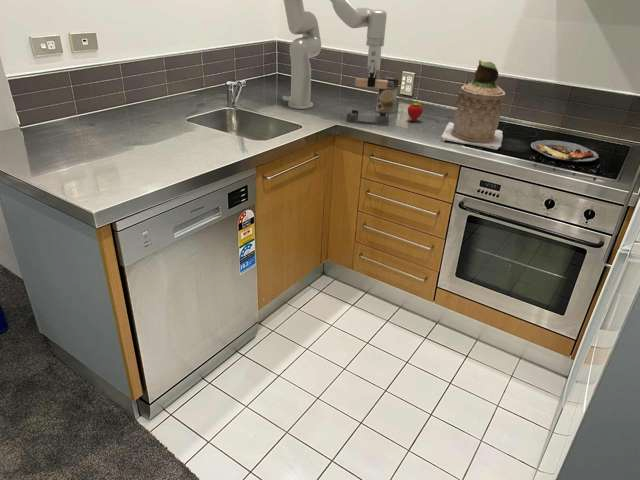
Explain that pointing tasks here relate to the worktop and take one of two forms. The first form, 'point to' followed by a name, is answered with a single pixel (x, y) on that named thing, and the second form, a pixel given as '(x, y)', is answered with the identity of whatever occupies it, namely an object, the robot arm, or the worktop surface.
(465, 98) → the cookie jar
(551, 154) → the food plate
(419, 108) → the strawberry
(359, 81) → the clay strip
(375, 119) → the drying rack
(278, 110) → the worktop surface
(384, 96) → the coffee box
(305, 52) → the robot arm
